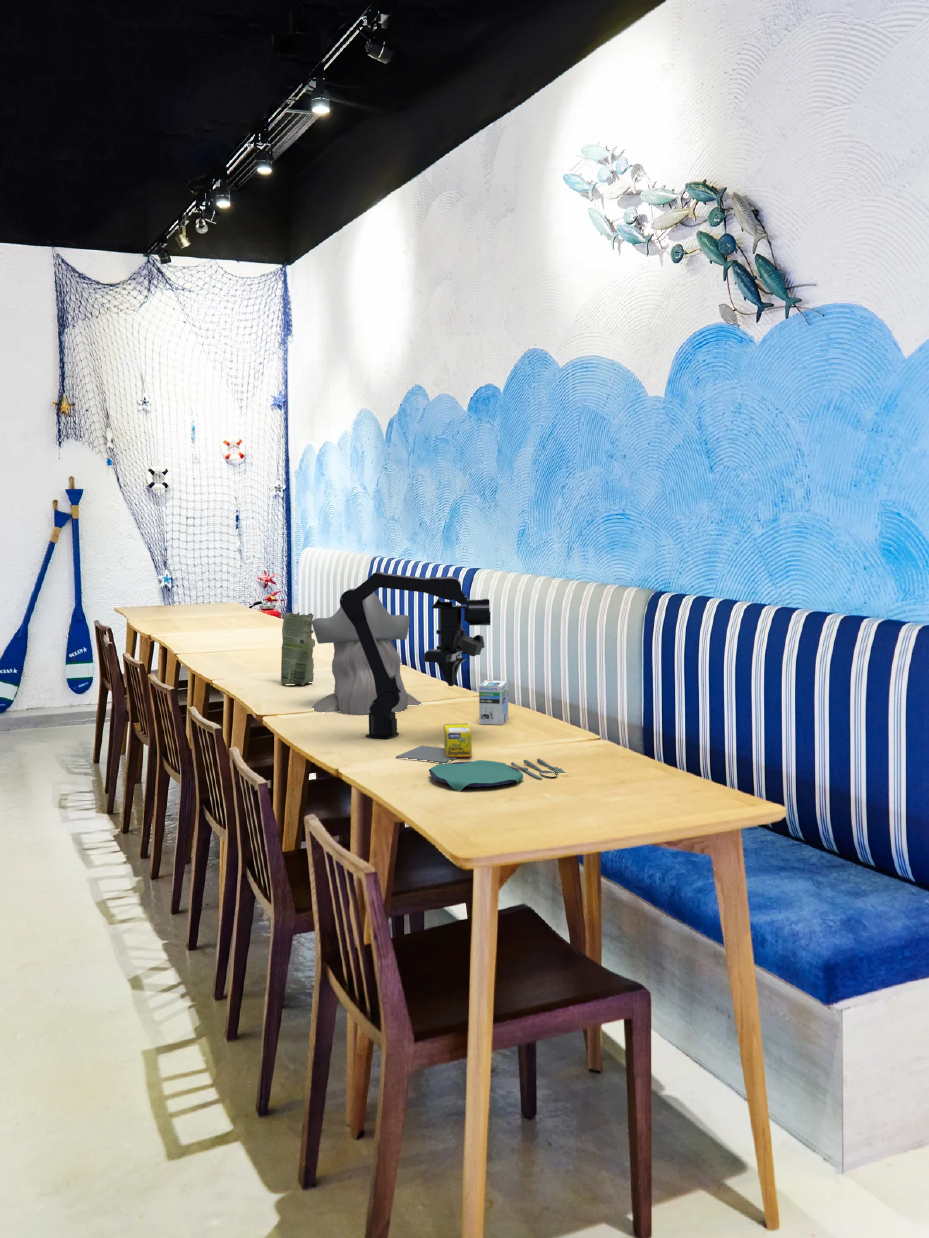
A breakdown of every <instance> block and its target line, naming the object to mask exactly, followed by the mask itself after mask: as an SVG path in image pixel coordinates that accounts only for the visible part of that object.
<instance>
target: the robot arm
mask: <svg viewBox="0 0 929 1238" xmlns="http://www.w3.org/2000/svg"><path fill="white" fill-rule="evenodd" d="M381 588H383V589H392V590H398V591H399V590H400V591H409V592H418V593H424V594H428V595H431V596H433V597H437V600H436V601H435V603H433V604H432V606H431V608H432V609H438V610H439V611H438V612H439V613H438V615H439V616H438V617H439V620H438V621H439V623H438V624H439V629H436V631H435V632H436V635H439V645H436V649H435V648H433V649H427V650H426V651H425V652H424V653H423V662H425V663H436V664H437V665H438V668H439V670H440V671H441V673H442V675H443V677H444V679H445V682H446V684H447V685H448V686H447V687H454V685H455V682H456V678H457V675H458V671H459V669H460V666H461V665H462V663H464V661H465V662H466V660H467V657H463V655H465V654H466V655H468V656H471V657H476V656H480V655H481V653H482V650H483V649H485V641H484V636H483V635H481V634H476V635H475V636H468V635H467V631H466V629H464V628H463V625H462V623H463V622H462V621H464V622H465V623H468V626H491V610H490V609H491V608H490V599H489V598H483V599H468V596H467V595H465V592H463V591H462V584H461V581H460V580H459V579H458V578H456V577H455V576H452V575H450V576H434V577H421V576H420V577H419V576H413V575H402V574H395V573H394V574H393V573H386V572H383V571H376V572H373V573H372V574H371V575H370V577H369V578H367V579H365V581H363V582H362V583H360V585H359V586H357V587H356V588H350V589H349V588H348V589H347V590H346V591H344V592H343V593H342V594H341V595H340V598H339V605H340V606H341V607H342V609H343V611H344V612H345V614H346V616H347V617H348V619H349V620H350V621H351V623H352V624H353V626H354V627H355V630H356V632H357V635H358V638H359V640H360V643H361V645H362V648H363V650H364V653H365V655H366V658H367V661H368V663H369V666H370V668H371V671H372V673H373V676H374V682H375V689H376V694H377V698H376V699H375V700H374V701H373V702H372V704H371V706H370V708H369V709H370V712H369V716H368V733H367V734H365V737H366V738H374V739H383V740H384V739H385V740H387V739H388V740H389V739H391V738H393V737H396V736H398V735H399V734H400V732H398V718H397V717H396V713H395V712H392V711H391V710H392V708H394V707H396V706H397V705H398V703H399V701H400V698H401V691H402V686H401V685H400V684H399V681H398V676H397V674H396V675H394V676H392V675H391V674H390V673H389V671H388V670H387V667H386V665H385V662H384V659H383V657H382V654H381V652H380V649H379V647H378V644H377V642H376V639H375V636H374V634H373V631H372V629H371V626H370V624H369V621H368V615H367V608H366V603H365V599H366V598H367V597H368V596H370V595H371V594H372V593H373V592H374V593H375V592H376V591H377V590H378V589H381ZM441 599H443V600H447V601H441ZM453 601H455V602H456V603H458V605H457V604H454V603H453ZM340 606H339V607H340ZM462 609H464V613H463V614H464V615H462ZM463 616H464V620H462V618H463Z"/></svg>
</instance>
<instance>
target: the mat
mask: <svg viewBox="0 0 929 1238" xmlns="http://www.w3.org/2000/svg"><path fill="white" fill-rule="evenodd" d="M395 757H396V758H395V759H397V758H408V759H417V760H427V761H433V762H439V763H438V764H442V763H445V764H447V763H449V762H450V761H449V760H451V761H453V759H454V758H456V757H447V755H446V752H445V748H444V747H439V746H429V745H420V746H418V747H415V748H413V749H410V750H408V751H405V752H403V753H401V754H398V755H396V756H395ZM456 759H457V758H456ZM454 760H455V759H454ZM448 761H449V762H448ZM433 762H432V763H433ZM446 762H447V763H446Z"/></svg>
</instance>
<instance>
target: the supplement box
mask: <svg viewBox="0 0 929 1238" xmlns="http://www.w3.org/2000/svg"><path fill="white" fill-rule="evenodd" d="M443 731H444V732H443V734H444V735H443V738H444V740H443V744H444V746H443V748H445V752H446V755H447V757H458V758H469V757H472V739H473V738H472V736H473V735H472V734H473V733H472V730H471V727H470V725H469V724H468V723H465V722H464V723H445V724H444V725H443Z"/></svg>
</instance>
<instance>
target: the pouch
mask: <svg viewBox="0 0 929 1238" xmlns="http://www.w3.org/2000/svg"><path fill="white" fill-rule="evenodd" d="M300 613H301V612H300V611H298V612H297V613H293V612H285V613H284V614H283V622H282V628H281V635H282V643H281V658H280V659H281V667H280V670H281V672H280V674H281V675H280V684H281V683H282V684H281V685H283V684H304V685H306V684H305V683H309V682H313V683H314V667H315V664H314V658H313V654H314V650H313V649H314V648H315V646H316V639H314V638H313V637H312V634H313V633H315V632H314V629H313V625H312V620H314V614H313V613H312V612H311V613H308V614H305V613H303V614H300Z"/></svg>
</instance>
